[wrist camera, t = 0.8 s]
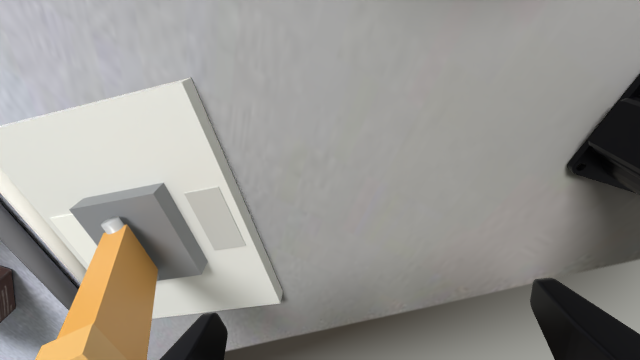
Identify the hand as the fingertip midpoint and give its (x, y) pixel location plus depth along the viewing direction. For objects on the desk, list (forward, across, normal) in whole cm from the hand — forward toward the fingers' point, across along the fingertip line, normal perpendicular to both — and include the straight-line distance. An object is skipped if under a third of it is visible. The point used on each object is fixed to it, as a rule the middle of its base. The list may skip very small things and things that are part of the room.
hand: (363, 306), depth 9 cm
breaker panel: (+12, +15, +3) cm, 19 cm away
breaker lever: (+8, +15, +3) cm, 18 cm away
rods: (+12, +25, +3) cm, 28 cm away
